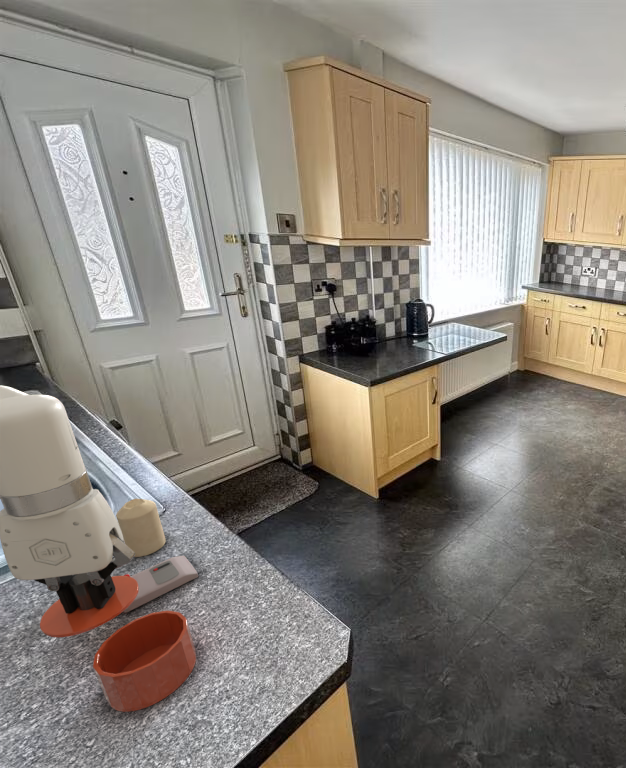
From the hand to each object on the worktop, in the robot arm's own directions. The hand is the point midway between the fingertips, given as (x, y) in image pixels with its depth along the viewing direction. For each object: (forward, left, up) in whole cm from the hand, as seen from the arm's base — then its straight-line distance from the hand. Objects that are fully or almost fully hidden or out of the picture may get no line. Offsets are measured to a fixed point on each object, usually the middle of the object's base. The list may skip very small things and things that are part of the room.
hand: (91, 601), depth 59 cm
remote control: (+1, +10, -8) cm, 13 cm away
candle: (-4, +21, -8) cm, 23 cm away
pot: (+9, -7, -8) cm, 14 cm away
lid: (0, 0, -1) cm, 1 cm away
